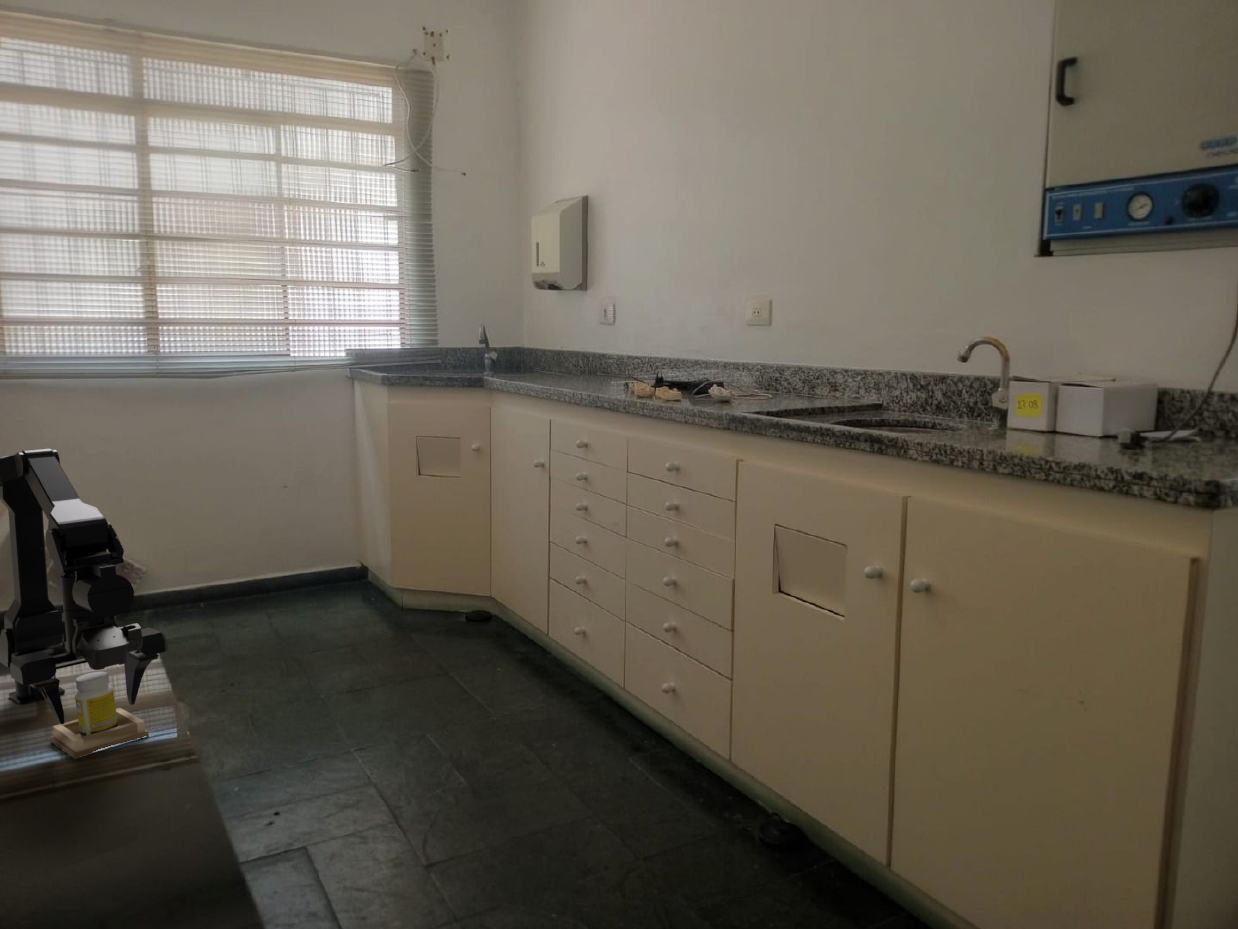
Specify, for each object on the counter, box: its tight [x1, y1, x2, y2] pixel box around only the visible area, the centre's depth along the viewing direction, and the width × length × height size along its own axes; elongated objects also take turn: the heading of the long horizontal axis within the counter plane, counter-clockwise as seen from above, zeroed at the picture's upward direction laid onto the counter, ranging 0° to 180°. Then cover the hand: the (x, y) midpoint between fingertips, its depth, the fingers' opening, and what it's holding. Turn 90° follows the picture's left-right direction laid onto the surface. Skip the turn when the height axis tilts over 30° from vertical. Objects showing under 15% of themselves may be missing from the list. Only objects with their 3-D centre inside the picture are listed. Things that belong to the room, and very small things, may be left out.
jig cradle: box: [50, 707, 150, 759], centre depth 135 cm, size 10×10×2 cm
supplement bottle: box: [74, 671, 118, 737], centre depth 134 cm, size 5×5×8 cm
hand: (97, 713), depth 134 cm, fingers open, 9 cm apart
